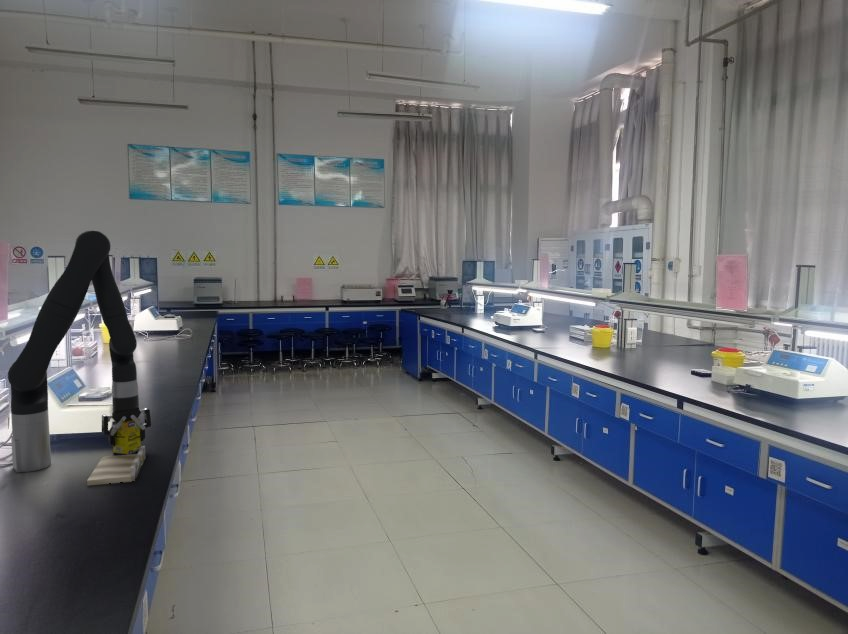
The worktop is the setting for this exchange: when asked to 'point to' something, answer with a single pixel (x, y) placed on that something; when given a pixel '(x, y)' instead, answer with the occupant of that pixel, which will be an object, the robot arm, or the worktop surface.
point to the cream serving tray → (117, 468)
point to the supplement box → (127, 438)
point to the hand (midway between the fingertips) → (127, 443)
